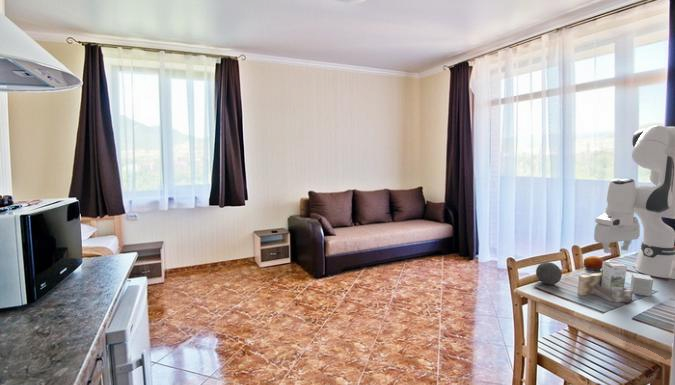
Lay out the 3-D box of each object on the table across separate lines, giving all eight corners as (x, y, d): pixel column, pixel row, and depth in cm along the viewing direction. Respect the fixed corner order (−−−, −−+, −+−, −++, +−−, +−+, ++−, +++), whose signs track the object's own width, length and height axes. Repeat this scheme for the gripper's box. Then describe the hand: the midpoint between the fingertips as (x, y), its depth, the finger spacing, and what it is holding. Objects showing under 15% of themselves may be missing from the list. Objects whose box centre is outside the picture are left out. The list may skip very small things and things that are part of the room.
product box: (648, 291, 147) (650, 275, 146) (651, 297, 142) (653, 280, 141) (629, 288, 151) (631, 272, 150) (632, 293, 146) (634, 277, 145)
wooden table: (616, 287, 152) (618, 270, 151) (642, 297, 142) (645, 279, 140) (577, 293, 146) (578, 275, 145) (602, 304, 136) (604, 285, 135)
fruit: (591, 270, 169) (587, 254, 172) (583, 273, 176) (579, 257, 179) (609, 271, 167) (605, 255, 171) (600, 274, 175) (596, 258, 178)
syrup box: (612, 293, 146) (616, 260, 144) (623, 299, 140) (627, 265, 138) (598, 293, 147) (602, 260, 145) (608, 299, 141) (612, 265, 139)
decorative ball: (533, 278, 163) (534, 258, 162) (557, 280, 160) (559, 260, 158) (537, 286, 154) (539, 265, 152) (563, 289, 150) (565, 267, 149)
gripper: (629, 214, 144) (626, 246, 147) (592, 218, 139) (589, 251, 141) (646, 217, 138) (643, 250, 140) (607, 222, 133) (604, 256, 135)
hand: (615, 251), depth 141 cm, fingers open, 8 cm apart
